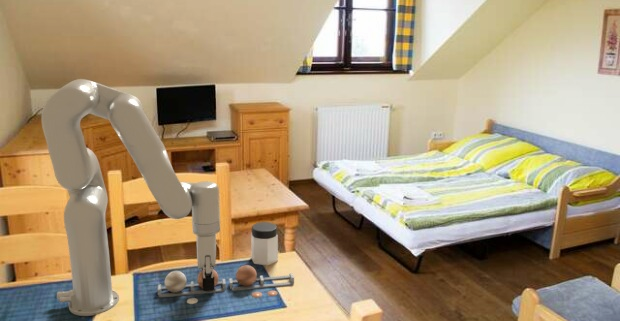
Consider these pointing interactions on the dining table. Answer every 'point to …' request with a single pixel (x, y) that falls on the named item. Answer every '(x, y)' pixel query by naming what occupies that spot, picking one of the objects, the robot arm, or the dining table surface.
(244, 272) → the terracotta ball
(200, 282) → the terracotta ball
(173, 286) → the cream ball
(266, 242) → the jar
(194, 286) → the grey ball rail
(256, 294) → the tiles
